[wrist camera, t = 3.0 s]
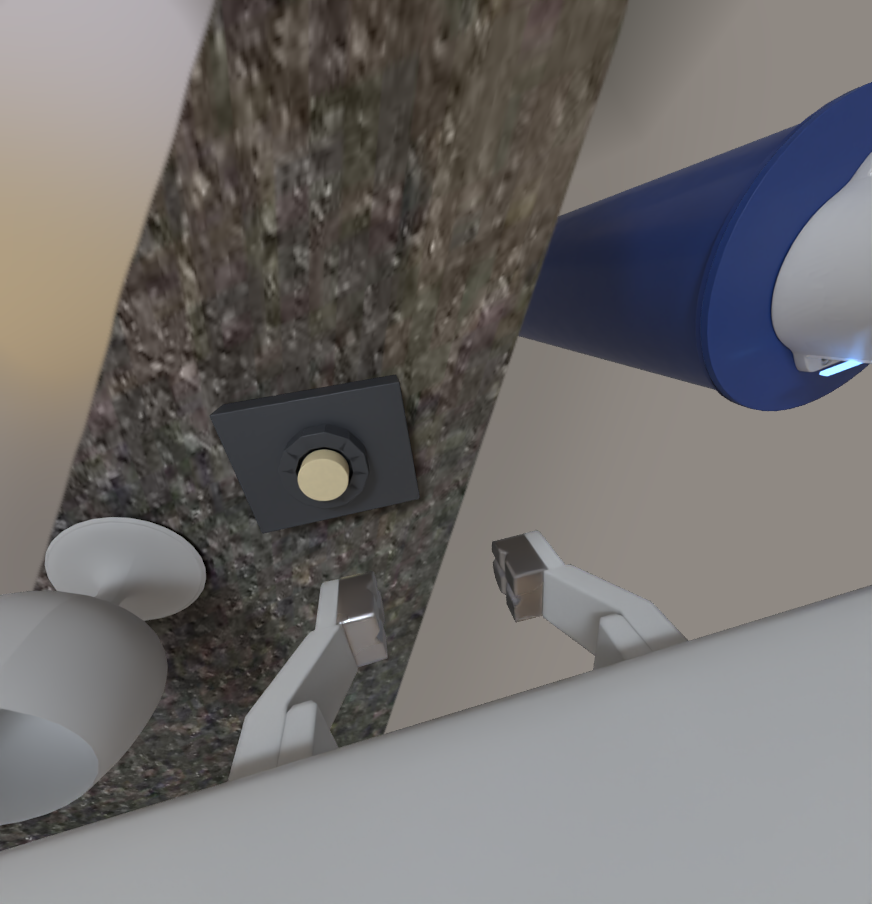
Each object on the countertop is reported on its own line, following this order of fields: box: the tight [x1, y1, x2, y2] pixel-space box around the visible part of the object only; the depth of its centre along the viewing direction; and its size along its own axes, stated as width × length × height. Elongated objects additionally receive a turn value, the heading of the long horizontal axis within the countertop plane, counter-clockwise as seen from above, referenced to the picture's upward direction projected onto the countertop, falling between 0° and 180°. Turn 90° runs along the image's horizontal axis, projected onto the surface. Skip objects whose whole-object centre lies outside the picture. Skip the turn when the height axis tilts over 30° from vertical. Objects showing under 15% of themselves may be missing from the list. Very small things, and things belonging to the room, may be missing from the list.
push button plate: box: [210, 375, 420, 533], centre depth 28 cm, size 14×11×4 cm
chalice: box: [0, 517, 206, 825], centre depth 25 cm, size 14×14×15 cm
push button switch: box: [298, 449, 349, 501], centre depth 26 cm, size 4×4×2 cm
